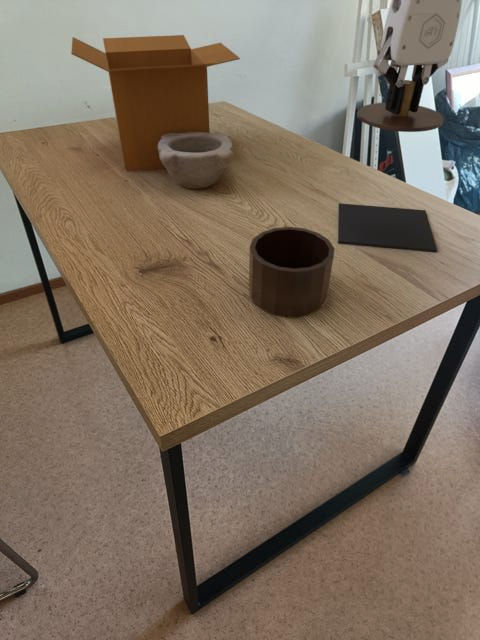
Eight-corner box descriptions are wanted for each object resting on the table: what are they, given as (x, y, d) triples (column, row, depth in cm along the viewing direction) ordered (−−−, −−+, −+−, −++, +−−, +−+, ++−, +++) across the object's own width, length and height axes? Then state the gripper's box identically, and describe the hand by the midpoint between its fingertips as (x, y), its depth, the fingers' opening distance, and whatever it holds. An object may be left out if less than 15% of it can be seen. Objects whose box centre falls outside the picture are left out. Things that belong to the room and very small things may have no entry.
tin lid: (416, 107, 81) (425, 70, 77) (458, 133, 70) (471, 91, 67) (344, 111, 79) (350, 73, 75) (376, 138, 69) (384, 95, 65)
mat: (424, 212, 95) (425, 210, 95) (436, 252, 83) (437, 250, 83) (338, 205, 98) (339, 203, 97) (338, 243, 86) (338, 241, 85)
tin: (313, 267, 79) (319, 224, 74) (337, 312, 70) (346, 266, 65) (243, 274, 78) (243, 230, 72) (258, 321, 68) (260, 275, 63)
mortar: (231, 166, 114) (231, 128, 108) (234, 195, 101) (234, 154, 95) (164, 167, 113) (160, 129, 107) (158, 197, 100) (153, 156, 94)
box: (214, 123, 139) (211, 24, 122) (250, 174, 110) (252, 54, 93) (93, 133, 131) (72, 29, 115) (97, 190, 103) (70, 63, 86)
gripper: (399, -30, 57) (370, 123, 69) (500, -32, 61) (456, 112, 73) (366, -33, 62) (345, 109, 74) (461, -35, 66) (427, 100, 78)
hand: (401, 109), depth 73 cm, fingers closed on tin lid, 2 cm apart
